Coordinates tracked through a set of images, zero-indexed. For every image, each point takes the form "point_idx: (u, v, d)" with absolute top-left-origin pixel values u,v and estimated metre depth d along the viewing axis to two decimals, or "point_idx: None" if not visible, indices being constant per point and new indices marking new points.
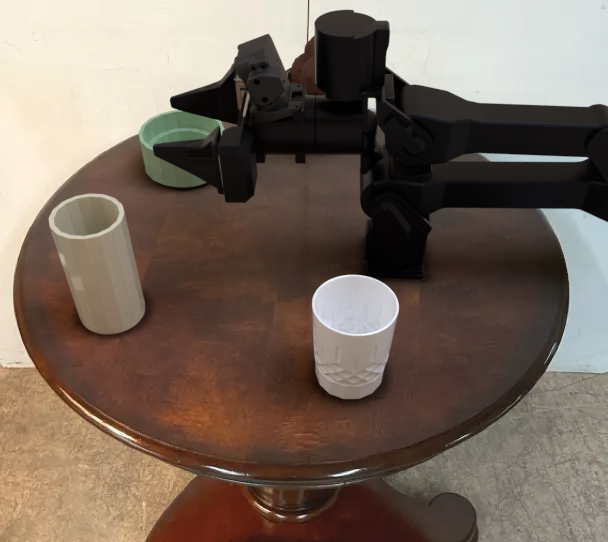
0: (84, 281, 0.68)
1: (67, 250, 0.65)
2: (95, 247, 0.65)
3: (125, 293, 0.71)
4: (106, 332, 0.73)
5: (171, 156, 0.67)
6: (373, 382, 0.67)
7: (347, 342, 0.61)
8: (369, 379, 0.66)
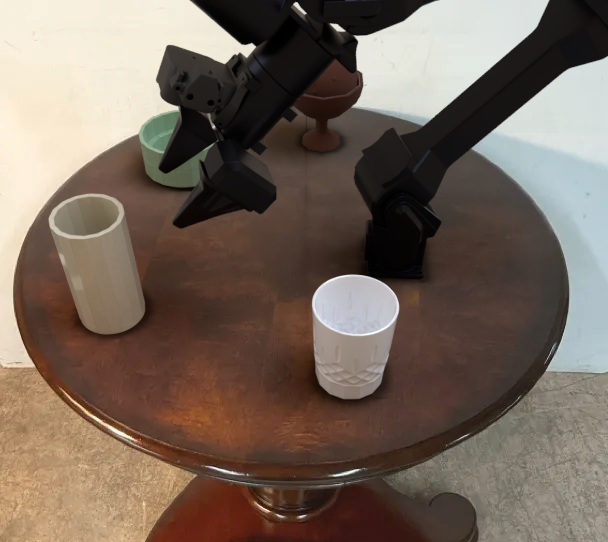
0: (84, 281, 0.68)
1: (67, 250, 0.65)
2: (95, 247, 0.65)
3: (125, 293, 0.71)
4: (106, 332, 0.73)
5: (191, 217, 0.63)
6: (373, 382, 0.67)
7: (347, 342, 0.61)
8: (369, 379, 0.66)
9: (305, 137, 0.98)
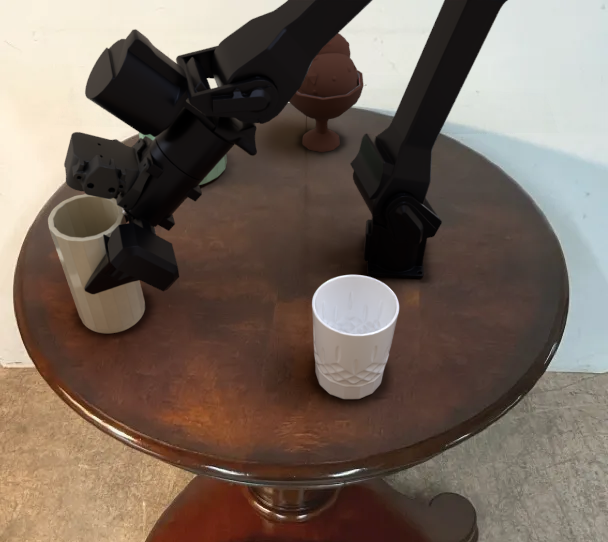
0: (83, 282, 0.68)
1: (66, 251, 0.65)
2: (94, 249, 0.65)
3: (124, 293, 0.70)
4: (105, 331, 0.73)
5: (102, 285, 0.67)
6: (373, 382, 0.67)
7: (347, 342, 0.61)
8: (369, 379, 0.66)
9: (305, 137, 0.98)
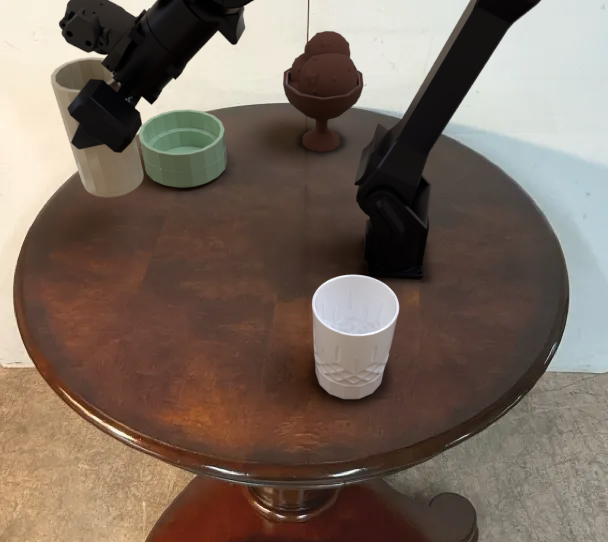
0: (73, 135, 0.73)
1: (58, 100, 0.71)
2: None
3: (110, 158, 0.75)
4: (94, 193, 0.79)
5: (83, 140, 0.72)
6: (373, 382, 0.67)
7: (347, 342, 0.61)
8: (369, 379, 0.66)
9: (305, 137, 0.98)
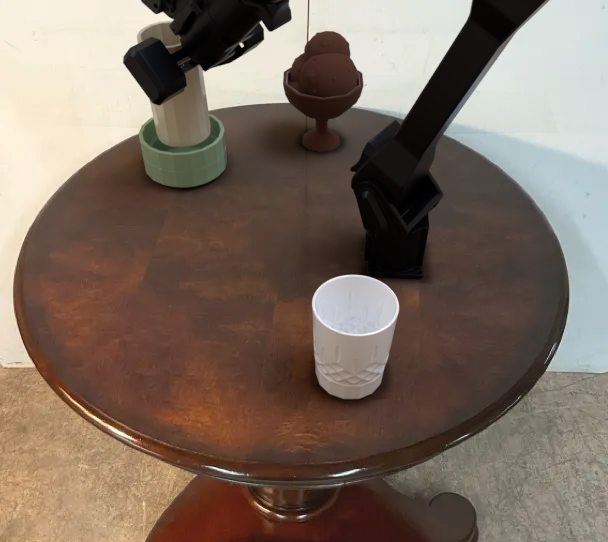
0: None
1: None
2: None
3: (173, 112, 0.85)
4: (160, 139, 0.89)
5: None
6: (373, 382, 0.67)
7: (347, 342, 0.61)
8: (369, 379, 0.66)
9: (305, 137, 0.98)
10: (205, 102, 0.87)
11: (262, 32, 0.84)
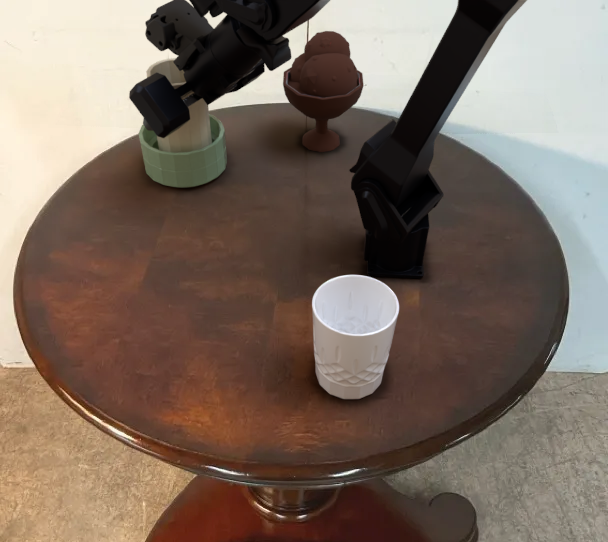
0: None
1: None
2: None
3: (178, 144, 0.88)
4: None
5: (149, 124, 0.85)
6: (373, 382, 0.67)
7: (347, 342, 0.61)
8: (369, 379, 0.66)
9: (305, 137, 0.98)
10: (209, 135, 0.90)
11: (263, 65, 0.87)
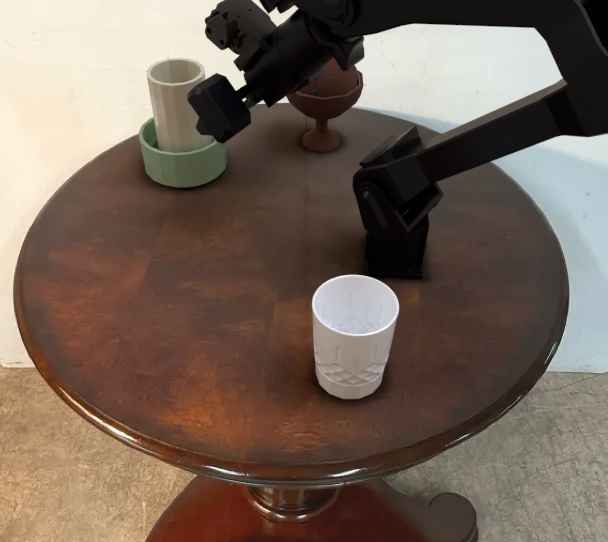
0: (154, 118, 0.87)
1: None
2: (158, 92, 0.83)
3: (178, 144, 0.88)
4: None
5: (203, 128, 0.79)
6: (373, 382, 0.67)
7: (347, 342, 0.61)
8: (369, 379, 0.66)
9: (305, 137, 0.98)
10: None
11: (323, 65, 0.81)
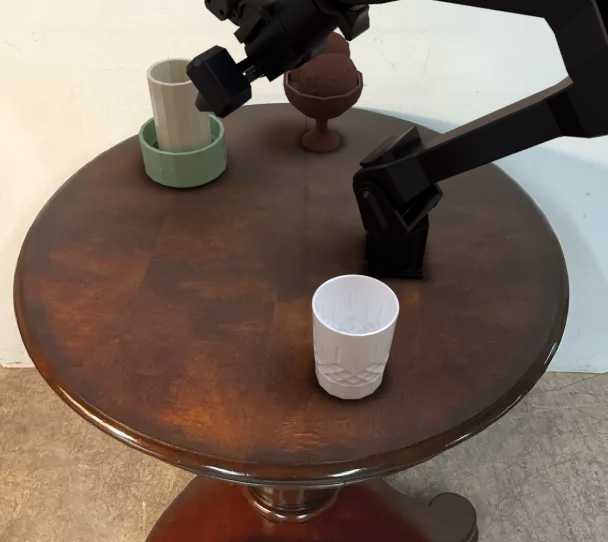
0: (154, 118, 0.87)
1: None
2: (158, 92, 0.83)
3: (178, 144, 0.88)
4: None
5: (202, 104, 0.77)
6: (373, 382, 0.67)
7: (347, 342, 0.61)
8: (369, 379, 0.66)
9: (305, 137, 0.98)
10: (209, 135, 0.90)
11: (326, 39, 0.79)
